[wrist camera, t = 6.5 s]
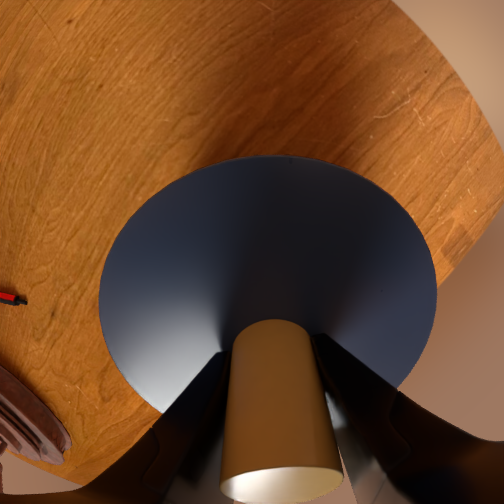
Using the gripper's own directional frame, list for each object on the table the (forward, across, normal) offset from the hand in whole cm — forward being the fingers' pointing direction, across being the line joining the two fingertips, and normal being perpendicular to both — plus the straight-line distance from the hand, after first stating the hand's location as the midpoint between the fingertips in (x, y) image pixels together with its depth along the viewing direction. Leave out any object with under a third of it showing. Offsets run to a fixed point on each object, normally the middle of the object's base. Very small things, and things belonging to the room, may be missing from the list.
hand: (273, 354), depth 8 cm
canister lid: (+1, 0, 0) cm, 1 cm away
